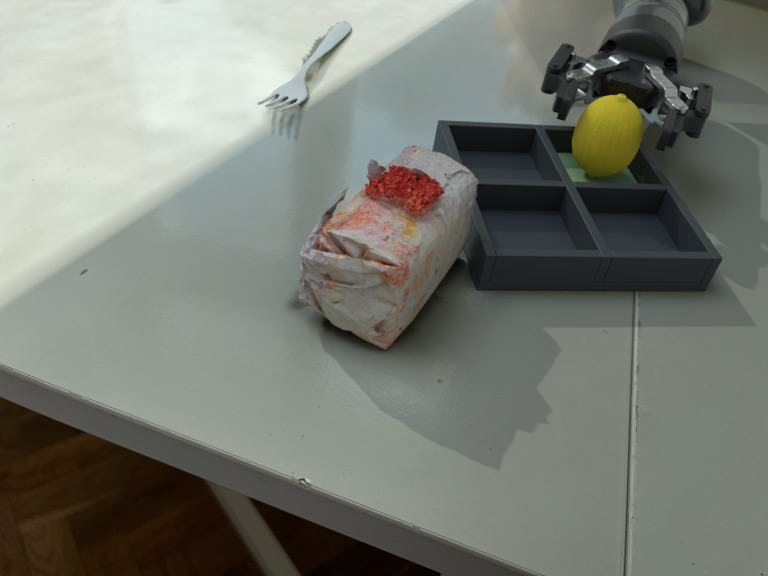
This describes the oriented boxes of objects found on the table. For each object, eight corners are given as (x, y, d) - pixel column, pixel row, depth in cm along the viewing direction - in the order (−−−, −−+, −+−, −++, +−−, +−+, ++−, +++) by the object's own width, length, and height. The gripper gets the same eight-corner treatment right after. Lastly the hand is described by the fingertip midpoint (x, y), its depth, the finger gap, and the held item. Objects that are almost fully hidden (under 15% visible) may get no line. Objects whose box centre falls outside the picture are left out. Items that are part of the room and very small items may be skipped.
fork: (360, 27, 88) (361, 12, 87) (285, 128, 70) (286, 110, 69) (332, 21, 89) (334, 5, 87) (251, 120, 71) (252, 102, 69)
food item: (392, 370, 50) (416, 252, 44) (285, 321, 52) (293, 201, 46) (470, 258, 60) (499, 147, 53) (377, 220, 62) (394, 109, 55)
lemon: (607, 203, 66) (640, 119, 61) (550, 175, 68) (577, 92, 63) (633, 178, 70) (666, 97, 64) (578, 152, 72) (606, 72, 66)
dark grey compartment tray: (621, 159, 74) (633, 128, 72) (705, 291, 60) (723, 258, 58) (431, 152, 70) (438, 119, 68) (476, 290, 57) (486, 255, 55)
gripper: (580, -7, 74) (540, 57, 62) (733, 35, 71) (721, 109, 59) (558, 67, 79) (517, 139, 67) (700, 108, 76) (683, 191, 64)
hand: (613, 125), depth 63 cm, fingers open, 8 cm apart
